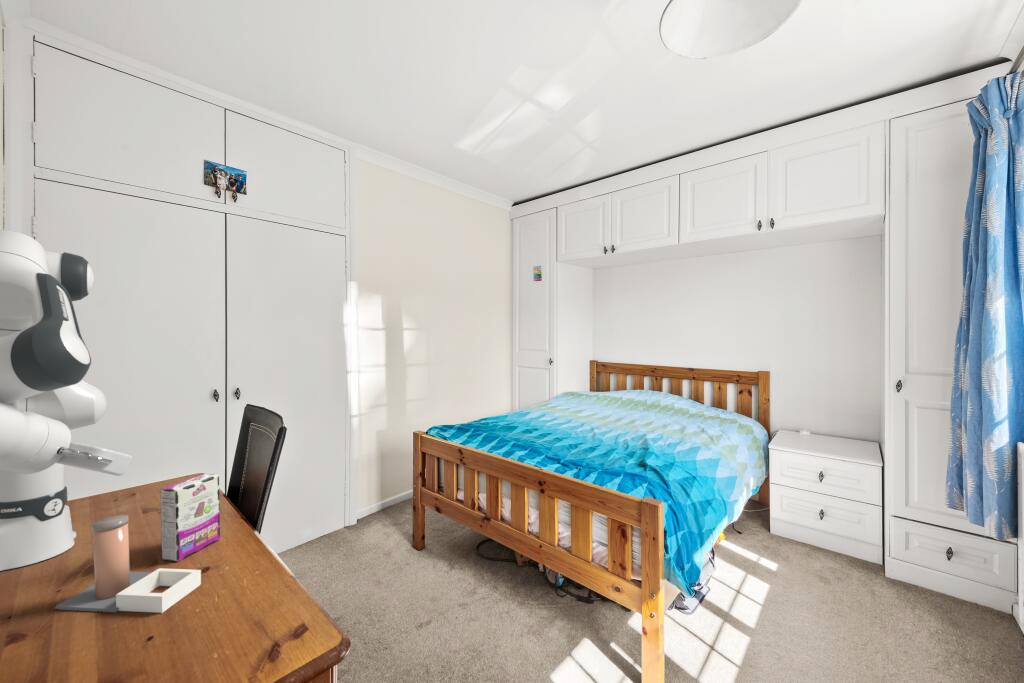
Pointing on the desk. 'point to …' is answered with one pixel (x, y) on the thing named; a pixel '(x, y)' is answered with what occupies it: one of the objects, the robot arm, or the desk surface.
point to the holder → (144, 601)
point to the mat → (90, 603)
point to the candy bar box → (189, 516)
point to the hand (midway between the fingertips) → (93, 459)
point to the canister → (111, 556)
